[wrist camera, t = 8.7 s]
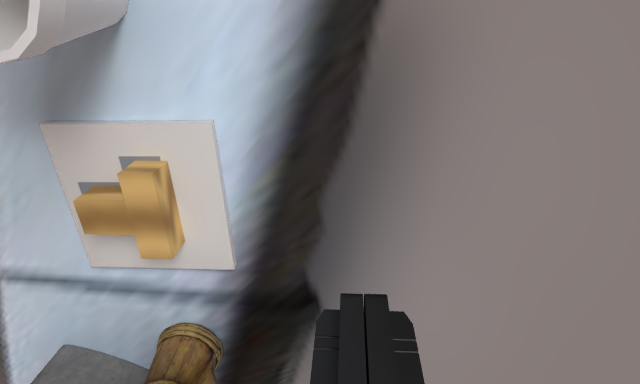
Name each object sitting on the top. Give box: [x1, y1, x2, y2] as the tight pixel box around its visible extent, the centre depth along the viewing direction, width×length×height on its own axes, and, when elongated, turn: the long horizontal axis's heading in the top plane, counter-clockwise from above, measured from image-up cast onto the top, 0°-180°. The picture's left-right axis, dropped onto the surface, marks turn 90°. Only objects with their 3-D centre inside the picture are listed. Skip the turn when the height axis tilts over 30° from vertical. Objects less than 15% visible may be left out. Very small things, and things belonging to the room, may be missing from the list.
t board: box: [39, 120, 237, 270], centre depth 42 cm, size 18×18×1 cm
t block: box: [73, 161, 185, 259], centre depth 40 cm, size 10×9×4 cm
